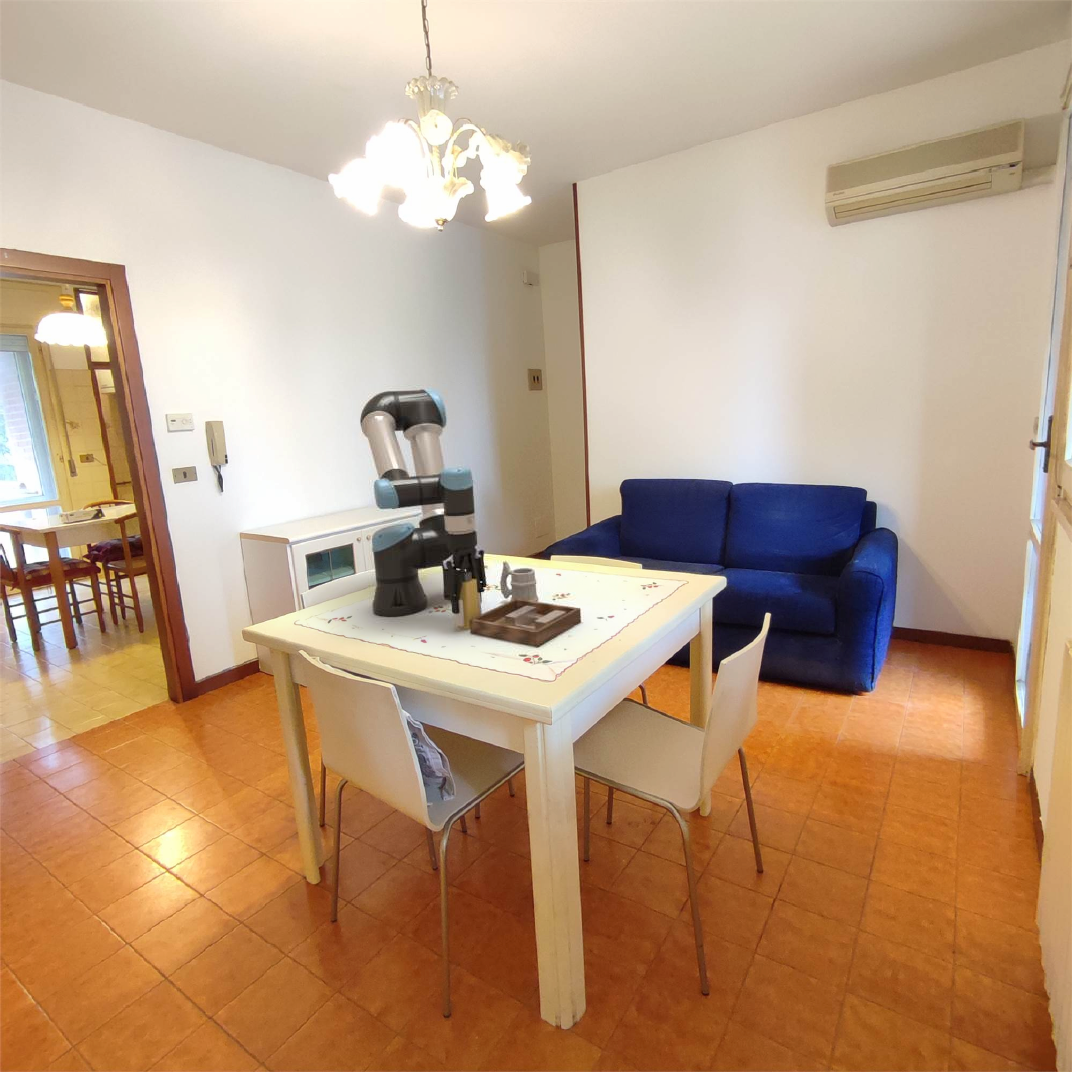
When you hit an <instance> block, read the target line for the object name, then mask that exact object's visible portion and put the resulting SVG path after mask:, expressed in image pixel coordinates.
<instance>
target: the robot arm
mask: <svg viewBox="0 0 1072 1072" xmlns="http://www.w3.org/2000/svg"><path fill="white" fill-rule="evenodd" d="M446 412H447V411H446V408H445V403H444V401H443V397H442V396H441V394H440V393H439V392H438V391H436V390H434V389H424V388H422V389H419V390H418V389H416V390H394V391H393V390H389V391H388V390H387V391H382V392H379V393H377V394H375V395H374V396H373V397H372V398H371V399H369V400H368V401H367V402H366V404H365V405H364V407H363V409H362V411H361V414H360V421H359V423H360V429H361V431H362V434H363V435H364V436H365V437H366V438H367V439H368V444H369V447H370V451H371V454H372V458H373V462H374V465H375V468H376V472H377V476H378V479H376V480H375V481H374V483H373V491H374V493H373V494H374V498H375V499H374V501H375V504H376V507H377V508H378V509H379V510H380V509H381V510H397V509H404V508H411V507H419V506H420V507H421V513H422V517H421V518H420V520H419V521H418V526H419V527H415V526H414V524H413V523H410V522H406V523H397V524H392V525H388V526H386V527H383V528H380V529H378V530H377V531H375V532H374V533H373V534H372V537H371V543H372V546H371V547H372V548H371V552H373V562H374V571H375V582H376V585H375V590H374V597H373V600H372V604H371V605H372V612H373V614H375V615H376V616H377V615H378V616H380V617H381V616H382V617H397V616H398V617H399V616H400V617H401V616H406V615H412V614H415V613H419V612H421V611H422V610H425V609H426V608H427V607H428V605H429V604H428V597H427V595H426V594H425V591H424V588H423V586H422V583H421V581H420V578H419V570H423V569H430V568H437V567H441V568H442V577H443V578H442V579H443V585H442V586H443V599H444V600H445V601H450V606H451V613H452V614H453V624H454V625H455V626H457V625H458V626H464V613H463V601H462V600H460V594H461V586H462V578H463V574H464V573H465V571H468V572H471V575H472V579H476V580H477V593H478V606H479V615H481V614H483V612H482V610H483V609H482V603H483V600H482V599H483V597H482V593H484V592H485V588H486V587H487V577H486V569H485V568H486V567H485V561H484V557H485V550H483V549H476V547H477V545H478V536H477V535H478V534H477V533H478V532H477V531H476V530H475V529H477V528H476V527H477V526H476V514H475V495H474V479H473V476H472V475H473V474H472V470H471V469H470V468H469V467H468V466H467V467H465V466H458V467H446V468H445V463H444V457H443V451H442V446H441V440H440V437H441V435H442V434H443V431H444V428H445V427H446V425H447V415H446ZM398 431H399V432H403V433H402V434H403V437H404V439H406V440H407V441H409V442H410V448H411V454H412V460H413V464H414V465H413V467H414V472H415V475H413V476H410V474H409V472H408V468H407V464H406V461H405V459H404V457H403V453H402V449H401V446H400V444H399V441H398V438H397V437H398V436H397V435H396V432H398ZM458 626H457V627H458Z"/></svg>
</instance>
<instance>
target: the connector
mask: <svg viewBox="0 0 1072 1072" xmlns="http://www.w3.org/2000/svg"><path fill="white" fill-rule="evenodd" d="M460 600H462V601H463V613H464V626H458V625H456V627H457V628H458V629H464V630H469V631H470V622H469V620H470V619H472V618H475V617H477V616H479V606H478V593H477V580H476V579H472V575H471V572H468V571H466V570H465V573H464V574H463V578H462V586H461V594H460Z"/></svg>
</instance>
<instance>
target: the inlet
mask: <svg viewBox="0 0 1072 1072" xmlns="http://www.w3.org/2000/svg"><path fill="white" fill-rule="evenodd" d="M565 614H566V612H565V611H558V610H555V611H553V612H551V613H549V614H547V615H545V616H543V617H538V616H537V612H536V607H533V606H527V605H526V606H524V607H522V608H520V609H518V610H516V611H514V612H512V613H510V614H508V615H506V616H505V624H506V625H509V626H514V627H520V628H525V629H531V630H538V629H539V628H541V627H543V626H545V625H547V624H548V623H550V622H552V621H554V620H556V619H558V618H559V617H561V616H563V615H565ZM532 622H535V627H531V626H526V625H528V624H530V623H532Z"/></svg>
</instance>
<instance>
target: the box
mask: <svg viewBox="0 0 1072 1072" xmlns="http://www.w3.org/2000/svg"><path fill="white" fill-rule="evenodd" d="M526 605H527V606H533V607H536V612H537V616H538V617H543V616H545V615H547V614H549V613H551V612H553V611H555V610H558V611H565V612H566V614H565V615H563V616H561V617H559V618H558V619H556V620H554V621H552V622H550V623H548V624H547V625H545V626H543V627H541V628H539V629H538V630H531V629H525V628H520V627H514V626H509V625H506V624H505V616H506V615H508V614H510V613H512V612H514V611H516V610H518V609H520V608H522V607H524V606H526ZM581 615H582V614H581V607H574V606H566V605H561V604H555V603H554V604H553V603H547V602H540V601H538V602H535V601H529V600H522V599H514V600H512V601H511V600H510V601H507V602H505V603H503V604H501V605H499V606H497V607H494V608H493V609H490V610H488V611H486V612H484V613H483V612H482V614H481V615H479V616H477V617H475V618H472V619H470V620H469V622H470V630H469V631H470V634H472V635H476V636H480V637H486V638H491V639H494V640H495V639H496V640H501V641H505V642H510V643H516V644H519V645H524V646H530V647H535V648H539V647H541V646H543V645H544V644H546V643H547V642H549V641H551V640H552V639H555V638H556V637H557V636H559V635H561V634H563V633H565V632H566V631H568V630H569V629H572V628H573V627H575V626H577V625H578V624H580V623H582V616H581ZM526 626H531V627H535V622H532V623H530V624H528V625H526Z"/></svg>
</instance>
